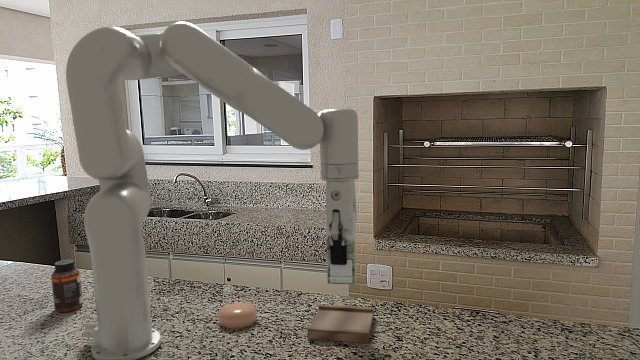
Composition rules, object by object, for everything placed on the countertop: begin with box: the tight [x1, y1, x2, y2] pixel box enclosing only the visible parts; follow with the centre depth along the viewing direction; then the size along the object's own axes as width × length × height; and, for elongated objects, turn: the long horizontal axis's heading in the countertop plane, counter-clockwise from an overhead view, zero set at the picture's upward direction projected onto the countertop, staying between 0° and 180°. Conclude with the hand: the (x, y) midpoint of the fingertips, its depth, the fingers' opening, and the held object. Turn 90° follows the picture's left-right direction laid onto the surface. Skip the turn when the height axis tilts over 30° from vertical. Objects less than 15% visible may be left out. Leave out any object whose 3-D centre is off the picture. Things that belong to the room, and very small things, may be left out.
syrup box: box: [325, 212, 357, 285], centre depth 98 cm, size 6×6×14 cm
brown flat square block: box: [307, 304, 375, 344], centre depth 100 cm, size 12×12×2 cm
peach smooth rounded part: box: [218, 302, 257, 329], centre depth 105 cm, size 8×8×2 cm
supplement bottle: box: [50, 259, 84, 313], centre depth 113 cm, size 6×6×11 cm
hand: (341, 258), depth 98 cm, fingers closed on syrup box, 6 cm apart
